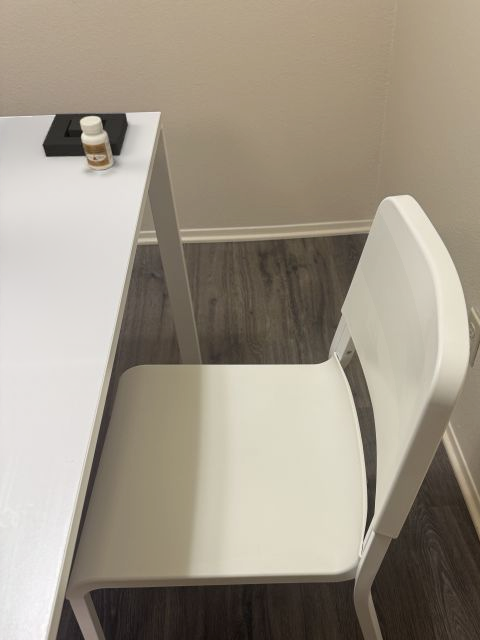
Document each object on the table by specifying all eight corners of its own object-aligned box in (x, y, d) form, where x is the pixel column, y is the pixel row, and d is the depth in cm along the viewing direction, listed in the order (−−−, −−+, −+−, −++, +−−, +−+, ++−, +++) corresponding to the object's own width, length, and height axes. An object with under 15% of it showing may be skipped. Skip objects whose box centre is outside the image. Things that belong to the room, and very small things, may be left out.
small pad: (72, 146, 111) (67, 129, 109) (77, 133, 114) (73, 117, 112) (100, 145, 111) (96, 129, 109) (104, 132, 114) (100, 116, 112)
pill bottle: (86, 170, 105) (74, 126, 99) (91, 158, 108) (79, 114, 102) (111, 170, 105) (101, 126, 100) (116, 158, 108) (106, 114, 102)
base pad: (45, 156, 108) (42, 144, 107) (59, 125, 116) (55, 113, 114) (119, 155, 109) (116, 143, 107) (128, 124, 117) (125, 112, 115)
